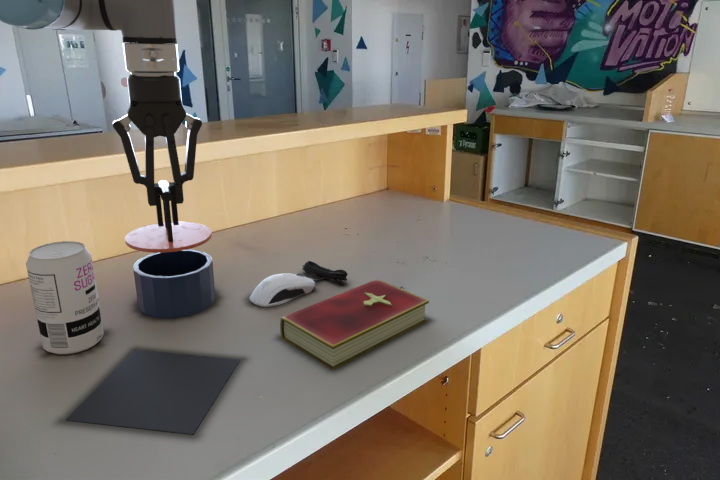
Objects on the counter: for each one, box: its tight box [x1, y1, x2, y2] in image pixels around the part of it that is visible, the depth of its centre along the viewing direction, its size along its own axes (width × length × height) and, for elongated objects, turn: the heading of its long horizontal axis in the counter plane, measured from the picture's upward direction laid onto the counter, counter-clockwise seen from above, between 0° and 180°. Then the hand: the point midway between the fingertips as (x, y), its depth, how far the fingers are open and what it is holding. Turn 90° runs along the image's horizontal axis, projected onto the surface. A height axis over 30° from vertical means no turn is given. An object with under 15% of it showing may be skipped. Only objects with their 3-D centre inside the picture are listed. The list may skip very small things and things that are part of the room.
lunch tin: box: [132, 249, 216, 320], centre depth 94 cm, size 13×13×8 cm
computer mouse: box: [249, 260, 348, 308], centre depth 100 cm, size 10×18×4 cm, turn 136°
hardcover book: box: [279, 278, 430, 371], centre depth 87 cm, size 12×21×4 cm, turn 135°
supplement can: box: [25, 240, 105, 355], centre depth 80 cm, size 8×8×15 cm
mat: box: [65, 349, 241, 436], centre depth 72 cm, size 16×16×1 cm
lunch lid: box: [124, 179, 213, 254], centre depth 90 cm, size 14×14×10 cm
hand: (168, 223), depth 90 cm, fingers closed on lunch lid, 2 cm apart
